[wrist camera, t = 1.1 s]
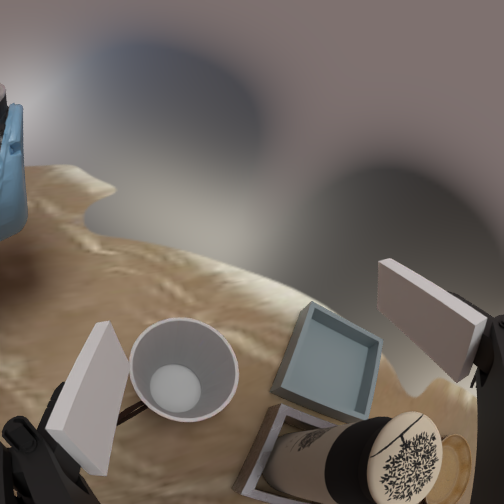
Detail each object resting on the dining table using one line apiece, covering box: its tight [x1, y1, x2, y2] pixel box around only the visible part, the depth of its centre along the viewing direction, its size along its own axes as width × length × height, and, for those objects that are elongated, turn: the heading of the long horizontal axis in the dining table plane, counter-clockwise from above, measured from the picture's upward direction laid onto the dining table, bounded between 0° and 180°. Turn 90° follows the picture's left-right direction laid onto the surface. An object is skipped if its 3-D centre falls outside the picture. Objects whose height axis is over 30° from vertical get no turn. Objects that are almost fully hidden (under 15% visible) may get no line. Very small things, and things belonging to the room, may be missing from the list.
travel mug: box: [263, 412, 443, 504], centre depth 19 cm, size 8×8×18 cm
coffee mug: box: [116, 317, 239, 426], centre depth 23 cm, size 12×9×10 cm
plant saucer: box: [424, 434, 472, 504], centre depth 26 cm, size 15×15×3 cm
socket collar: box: [232, 403, 338, 504], centre depth 24 cm, size 11×11×4 cm
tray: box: [270, 301, 383, 424], centre depth 33 cm, size 12×12×3 cm
